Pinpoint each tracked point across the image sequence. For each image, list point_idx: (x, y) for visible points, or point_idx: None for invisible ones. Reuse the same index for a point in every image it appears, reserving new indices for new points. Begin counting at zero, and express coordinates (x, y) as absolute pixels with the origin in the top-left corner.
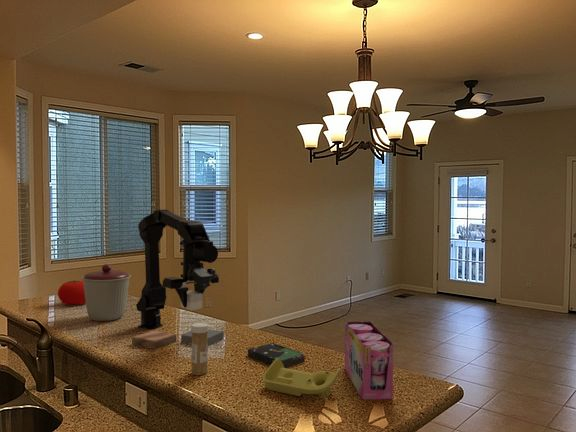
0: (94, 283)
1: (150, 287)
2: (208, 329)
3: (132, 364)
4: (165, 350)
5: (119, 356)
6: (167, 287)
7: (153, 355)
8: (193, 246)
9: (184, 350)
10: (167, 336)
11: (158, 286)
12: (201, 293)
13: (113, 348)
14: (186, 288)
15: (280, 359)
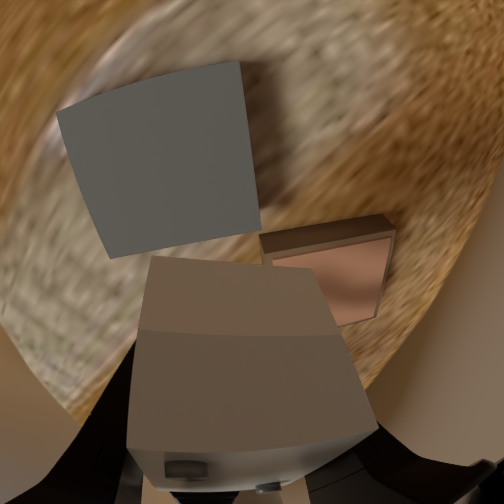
0: (280, 501)
1: (231, 499)
2: (91, 204)
3: (491, 168)
4: (376, 179)
5: (454, 243)
6: (497, 462)
7: (431, 173)
8: None
9: (341, 111)
10: (320, 252)
11: (195, 500)
12: (152, 449)
13: (405, 303)
14: (464, 491)
15: None
